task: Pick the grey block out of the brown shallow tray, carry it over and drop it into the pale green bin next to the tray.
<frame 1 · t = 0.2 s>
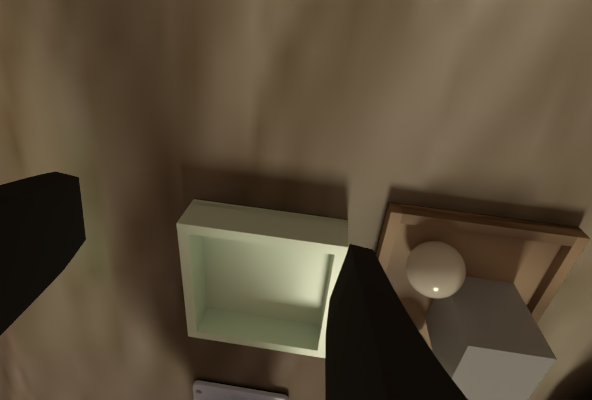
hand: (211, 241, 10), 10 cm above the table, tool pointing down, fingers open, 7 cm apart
pebble B: (429, 251, 21), resting on brown shallow tray
green bin: (266, 268, 23), on the table
brown shallow tray: (448, 295, 22), on the table
grey block: (467, 302, 22), resting on brown shallow tray
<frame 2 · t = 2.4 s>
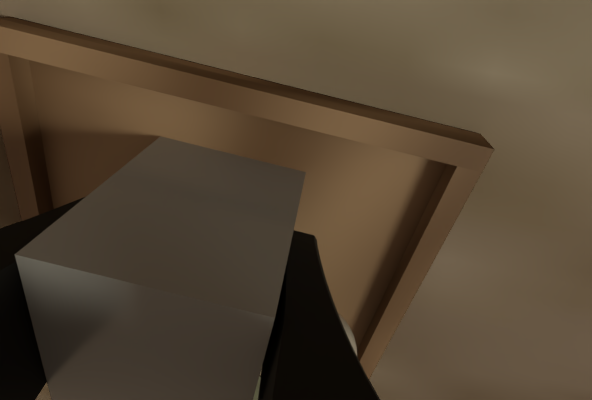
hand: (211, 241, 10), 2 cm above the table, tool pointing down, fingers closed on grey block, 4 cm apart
brown shallow tray: (225, 233, 12), on the table
grey block: (225, 214, 11), resting on brown shallow tray, touching gripper
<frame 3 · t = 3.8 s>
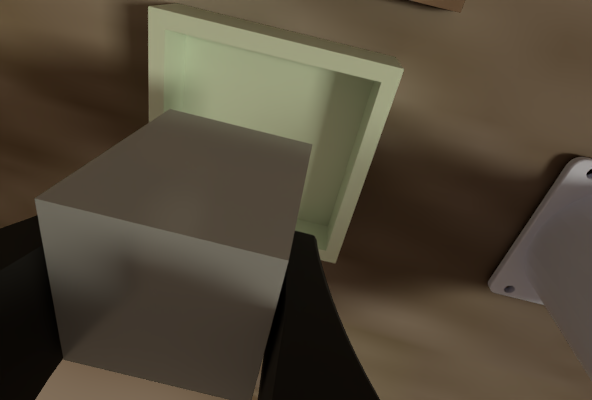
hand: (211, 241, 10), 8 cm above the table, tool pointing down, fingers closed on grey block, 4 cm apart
green bin: (267, 134, 17), on the table
grey block: (232, 189, 11), point 7 cm above the table, touching gripper
when the fingers open (3 cm above the table, at t = 5.2 s): grey block stays where it is, resting on green bin.
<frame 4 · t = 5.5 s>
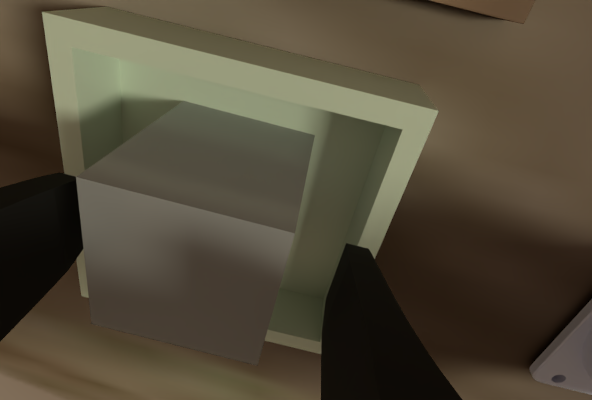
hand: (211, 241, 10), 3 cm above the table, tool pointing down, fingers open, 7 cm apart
green bin: (241, 183, 12), on the table
grey block: (239, 176, 12), resting on green bin
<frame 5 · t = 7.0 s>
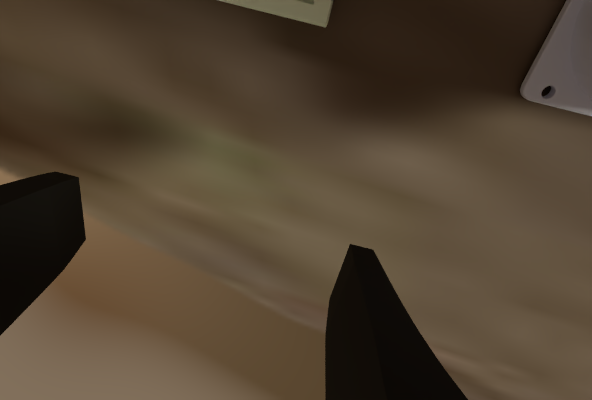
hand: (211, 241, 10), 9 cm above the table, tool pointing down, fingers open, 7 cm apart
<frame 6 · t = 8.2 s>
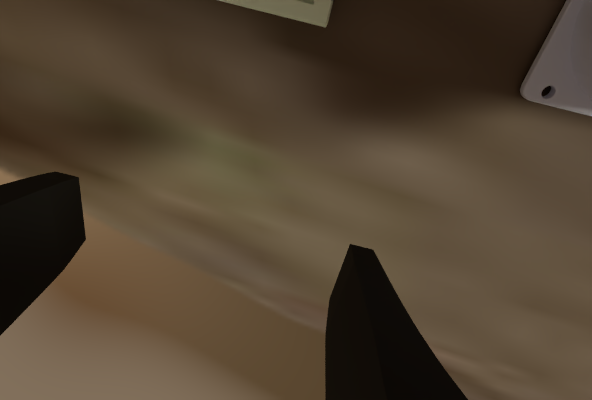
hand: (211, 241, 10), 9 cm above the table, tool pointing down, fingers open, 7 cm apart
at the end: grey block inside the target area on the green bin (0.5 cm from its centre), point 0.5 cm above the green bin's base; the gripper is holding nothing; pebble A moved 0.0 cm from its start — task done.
